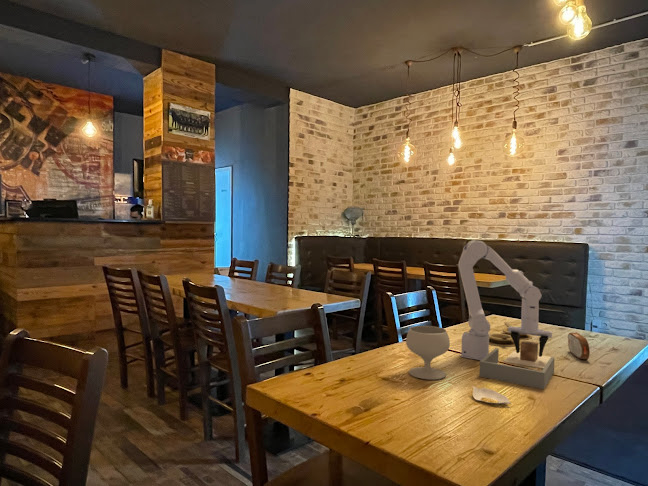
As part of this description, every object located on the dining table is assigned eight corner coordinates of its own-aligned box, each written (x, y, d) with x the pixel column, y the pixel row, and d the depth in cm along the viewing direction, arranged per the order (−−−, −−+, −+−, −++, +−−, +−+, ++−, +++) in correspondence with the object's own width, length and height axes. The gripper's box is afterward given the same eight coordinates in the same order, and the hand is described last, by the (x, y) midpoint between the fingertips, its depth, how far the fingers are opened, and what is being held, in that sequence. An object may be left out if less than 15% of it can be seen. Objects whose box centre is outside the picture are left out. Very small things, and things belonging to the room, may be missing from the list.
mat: (503, 361, 155) (503, 360, 155) (513, 352, 168) (513, 351, 168) (546, 369, 147) (546, 368, 147) (553, 358, 160) (553, 357, 160)
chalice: (402, 378, 137) (403, 332, 136) (409, 365, 150) (409, 323, 149) (447, 384, 132) (448, 336, 131) (450, 370, 145) (451, 326, 144)
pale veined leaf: (478, 389, 127) (478, 381, 126) (518, 405, 117) (518, 396, 117) (463, 397, 122) (463, 389, 121) (503, 414, 112) (504, 405, 112)
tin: (590, 362, 155) (590, 339, 155) (580, 361, 156) (581, 339, 156) (574, 351, 170) (575, 330, 170) (566, 350, 171) (566, 329, 170)
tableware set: (518, 352, 170) (518, 337, 170) (471, 342, 184) (471, 329, 184) (543, 339, 192) (543, 326, 191) (499, 332, 205) (499, 319, 205)
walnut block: (520, 359, 157) (520, 343, 157) (523, 356, 161) (523, 340, 161) (535, 362, 154) (535, 345, 154) (537, 358, 158) (537, 342, 158)
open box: (479, 376, 139) (479, 361, 139) (495, 361, 155) (495, 348, 155) (544, 389, 128) (544, 372, 128) (554, 371, 144) (554, 357, 144)
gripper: (506, 316, 158) (505, 353, 158) (550, 322, 149) (549, 360, 150) (510, 314, 164) (510, 349, 164) (553, 318, 155) (552, 355, 155)
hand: (529, 354), depth 157 cm, fingers open, 7 cm apart
